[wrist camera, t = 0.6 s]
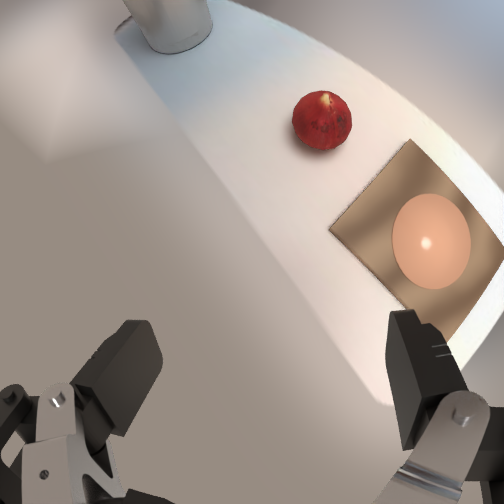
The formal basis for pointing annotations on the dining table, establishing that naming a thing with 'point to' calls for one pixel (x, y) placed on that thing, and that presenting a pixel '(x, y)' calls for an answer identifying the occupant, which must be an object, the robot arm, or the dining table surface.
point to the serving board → (422, 239)
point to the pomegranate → (322, 120)
